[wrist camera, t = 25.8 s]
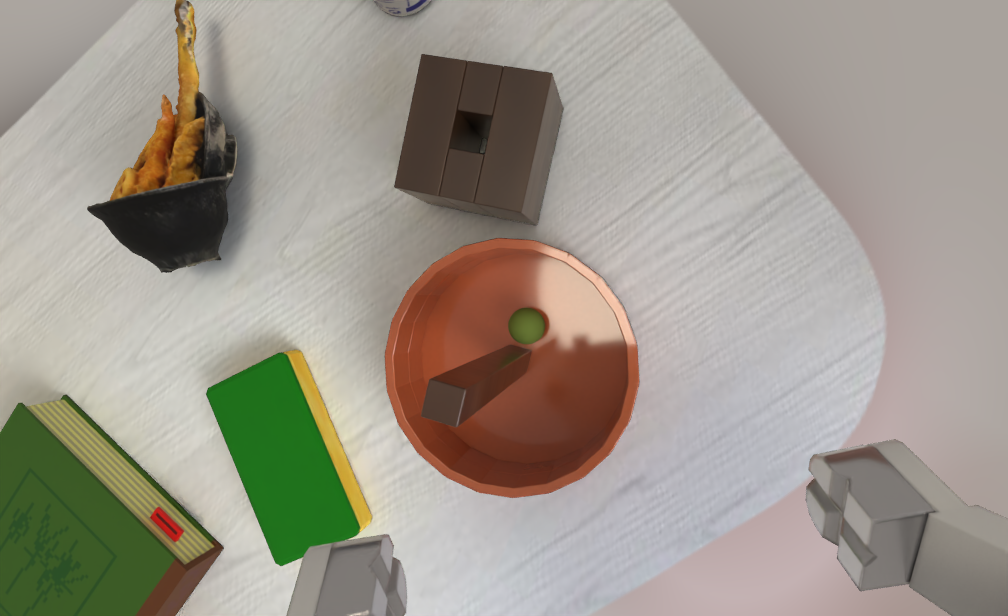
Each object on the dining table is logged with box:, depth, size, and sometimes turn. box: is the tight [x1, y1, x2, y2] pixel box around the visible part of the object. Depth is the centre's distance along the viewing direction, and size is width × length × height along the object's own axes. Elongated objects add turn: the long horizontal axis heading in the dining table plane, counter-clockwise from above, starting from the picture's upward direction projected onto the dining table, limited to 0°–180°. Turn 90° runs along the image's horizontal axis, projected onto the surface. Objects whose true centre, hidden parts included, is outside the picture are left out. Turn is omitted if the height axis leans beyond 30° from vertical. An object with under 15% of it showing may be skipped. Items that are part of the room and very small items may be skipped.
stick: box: [421, 345, 532, 427], centre depth 30 cm, size 2×2×16 cm
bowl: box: [385, 238, 639, 498], centre depth 35 cm, size 15×15×6 cm
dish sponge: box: [206, 350, 372, 566], centre depth 41 cm, size 7×14×2 cm, turn 25°
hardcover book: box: [0, 395, 223, 616], centre depth 45 cm, size 25×19×4 cm
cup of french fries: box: [87, 0, 237, 273], centre depth 39 cm, size 9×11×18 cm
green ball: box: [508, 308, 545, 344], centre depth 36 cm, size 2×2×2 cm
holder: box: [394, 54, 563, 225], centre depth 35 cm, size 8×8×6 cm
